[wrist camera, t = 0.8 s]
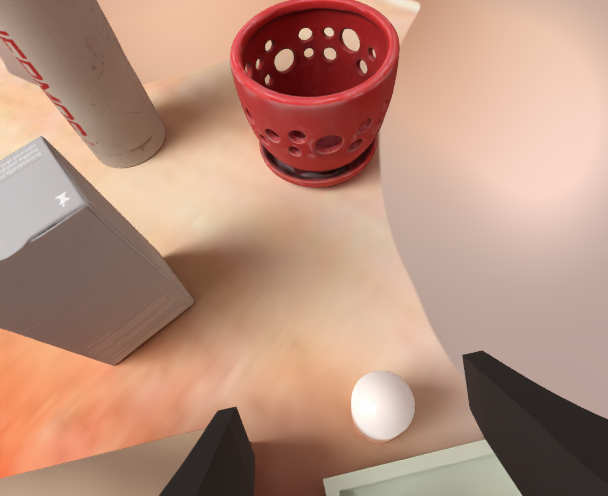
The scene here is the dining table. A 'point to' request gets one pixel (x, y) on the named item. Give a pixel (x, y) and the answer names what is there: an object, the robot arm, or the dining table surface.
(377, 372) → the white rounded piece
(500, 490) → the tray
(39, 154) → the skincare box
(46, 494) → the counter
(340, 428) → the dining table surface
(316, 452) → the dining table surface
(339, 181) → the plant pot
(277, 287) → the dining table surface
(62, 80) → the thermos bottle
